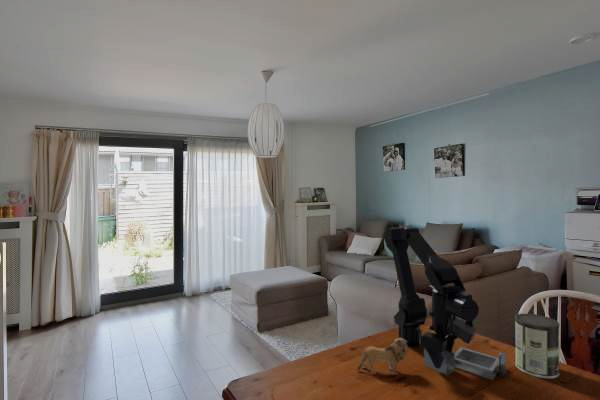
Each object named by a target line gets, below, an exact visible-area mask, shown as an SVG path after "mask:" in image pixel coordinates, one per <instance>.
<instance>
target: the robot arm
mask: <svg viewBox="0 0 600 400" xmlns="http://www.w3.org/2000/svg"><path fill="white" fill-rule="evenodd" d="M382 235H383V240H384V243H385V246H386V247H387V249H388V250H389V252H391V254H392V258H393V263H394V266H395V271H396V276H397V281H398V286H399V290H400V295H401V296H400V299H399V301H398V311H397V312H396V313H395V314H394V316H393V320H394V323H395V325H397V326H398V338H402V339H405V340H406V341H407V346H408V348H413V349H415V348H417V347H418V346H419V345H420V346H421V347H423V348H425V349H426V350H427V352H428V354H429V356H430V358H431V360H432V362H433V364H434V366H435V368H438V369H439V367H440V362H441V355H442V352H443V351H445V350H446V351H449V352H451V353H453V350H454V347H455V342H456V340H457V339H460V340H461V341H462V342H463V343H465V344H470V343H471V341H473V340H474V337H475V335H476V333H477V332H478V331H477V327H476V323H475V319H476V318H477V317H478V315H479V312H480V308H479V306H478V303H477V301H476V300H474V299H473V295H472V294H470V293H466V292H467V291H466V288H465V286H464V285H465V284H464V283H463V281H462V280H461V277H460V275H459V273H458V270H457V269H456V267H455V266H454V265H453V264H452V263H450V262H449V261H448V260H447V259H444V258H442V257H440V256H439V255H438V254H437V253H436V251H435V250H434V249H433V248H432V247H431V245H430V244H429V243H428V242H427V240H426V239H425V237H423V236H422V234H421V233H420V230H419V228H418V227H414V226H413V227H404V226H400V227H399V226H397V227H387V228H386V229H385V230H384V231H383V234H382ZM409 246H410V248H411V250H412V251H413V252H414V254H415V255H416V256H417V258H418V259H419V260H420V261H421V263H422V264H423V266H424V274H425V277H426V278H427V279H428V282H429V283H430V285H428V286H427V287H426V288H427V290H428V291H431V295H432V296H431V311H429V316H430V317H431V321H432V323H431V324H430V325H429V330H430V331H431V332H430V331H427V332H425V333H424V334H422V333H423V331H422V329H421V326H424V325H425V324H426V320H427V318H428V309H427V306H426V301H425V299H424V297H420V296H419V294H417V290H416V286H415V281H414V276H413V272H412V267H411V263H410V259H409V254H408V249H409ZM432 331H433V332H432Z"/></svg>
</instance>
